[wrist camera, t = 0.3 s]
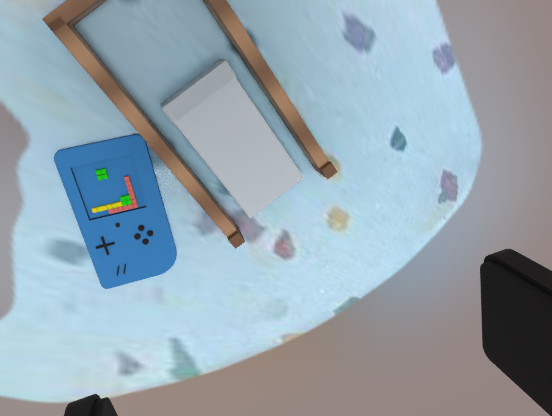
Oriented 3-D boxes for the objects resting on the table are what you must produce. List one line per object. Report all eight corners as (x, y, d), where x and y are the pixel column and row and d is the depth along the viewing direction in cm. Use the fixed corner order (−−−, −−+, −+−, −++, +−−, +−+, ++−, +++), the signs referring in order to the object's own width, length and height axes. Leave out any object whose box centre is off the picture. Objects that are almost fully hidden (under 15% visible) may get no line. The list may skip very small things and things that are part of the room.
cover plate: (160, 103, 40) (161, 108, 37) (220, 59, 40) (226, 60, 37) (245, 210, 46) (253, 224, 43) (297, 171, 46) (309, 182, 43)
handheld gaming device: (102, 291, 44) (50, 153, 38) (103, 286, 45) (53, 150, 39) (181, 270, 46) (142, 133, 40) (181, 265, 47) (143, 131, 41)
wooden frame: (50, 21, 36) (39, 18, 32) (173, -71, 36) (175, -84, 32) (229, 234, 46) (235, 248, 43) (324, 163, 46) (337, 172, 43)
